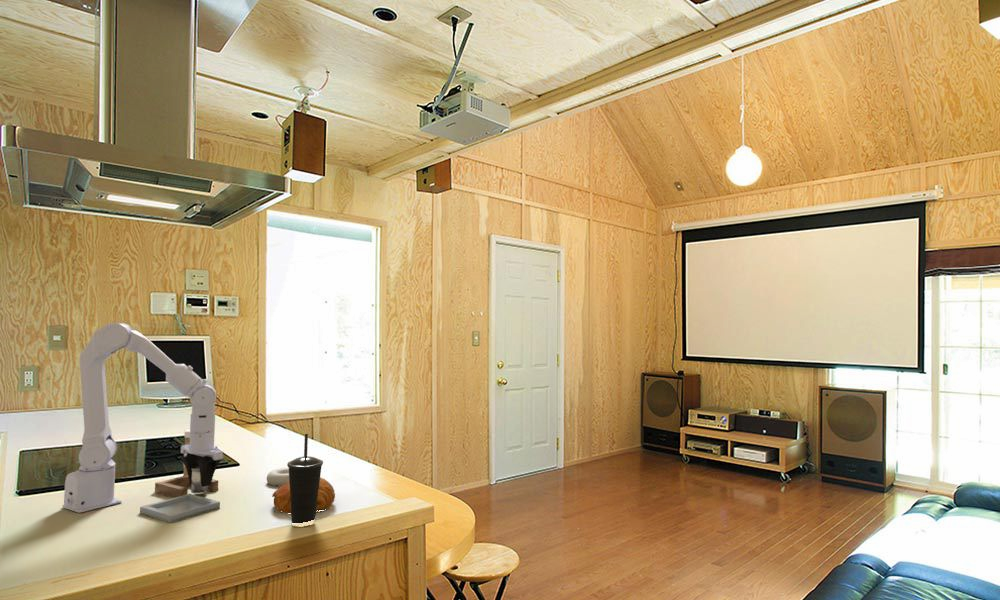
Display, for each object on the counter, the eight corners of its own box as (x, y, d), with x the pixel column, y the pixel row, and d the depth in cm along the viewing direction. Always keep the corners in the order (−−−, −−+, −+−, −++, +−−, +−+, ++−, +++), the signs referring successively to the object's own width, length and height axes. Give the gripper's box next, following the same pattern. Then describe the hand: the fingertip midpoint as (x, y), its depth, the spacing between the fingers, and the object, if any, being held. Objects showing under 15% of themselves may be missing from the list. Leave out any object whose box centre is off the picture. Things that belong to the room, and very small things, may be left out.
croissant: (328, 503, 151) (329, 471, 152) (338, 512, 137) (340, 478, 138) (269, 508, 145) (271, 475, 146) (274, 518, 131) (275, 482, 132)
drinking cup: (300, 532, 123) (303, 438, 124) (277, 525, 127) (281, 434, 128) (328, 522, 130) (331, 433, 131) (305, 515, 134) (308, 429, 135)
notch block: (181, 499, 144) (182, 489, 144) (154, 492, 149) (155, 482, 149) (218, 490, 152) (218, 480, 152) (191, 483, 158) (191, 474, 158)
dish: (170, 522, 127) (171, 516, 127) (139, 513, 133) (140, 506, 133) (219, 508, 138) (220, 501, 138) (189, 499, 144) (189, 493, 144)
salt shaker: (197, 494, 145) (198, 470, 145) (186, 491, 147) (187, 467, 148) (212, 490, 149) (214, 466, 149) (202, 487, 151) (203, 464, 151)
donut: (275, 490, 154) (310, 483, 161) (275, 477, 154) (310, 470, 161) (260, 482, 161) (294, 475, 168) (260, 470, 162) (295, 464, 168)
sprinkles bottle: (197, 479, 162) (199, 431, 163) (179, 479, 162) (181, 431, 162) (203, 474, 167) (205, 428, 167) (186, 475, 166) (188, 428, 167)
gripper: (234, 432, 149) (232, 484, 148) (199, 426, 156) (197, 476, 155) (209, 436, 143) (207, 491, 142) (173, 430, 150) (171, 482, 149)
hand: (200, 484), depth 148 cm, fingers closed on salt shaker, 4 cm apart
